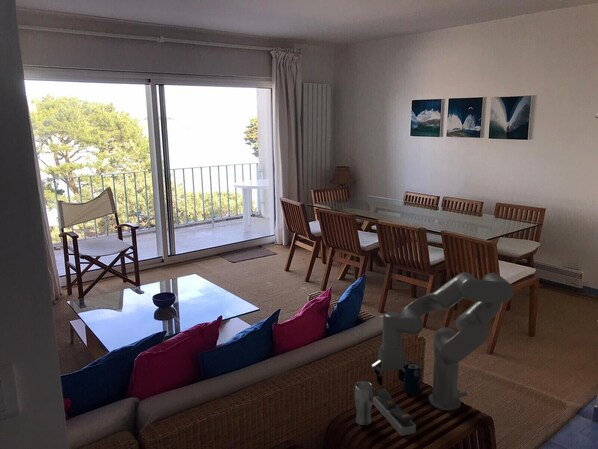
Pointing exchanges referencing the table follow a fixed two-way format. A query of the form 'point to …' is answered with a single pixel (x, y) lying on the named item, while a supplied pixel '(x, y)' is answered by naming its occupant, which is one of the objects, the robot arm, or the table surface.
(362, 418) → the beer glass
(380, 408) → the power strip
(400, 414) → the outlet rocker
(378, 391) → the outlet rocker
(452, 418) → the table surface
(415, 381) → the soda can
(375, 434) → the table surface
